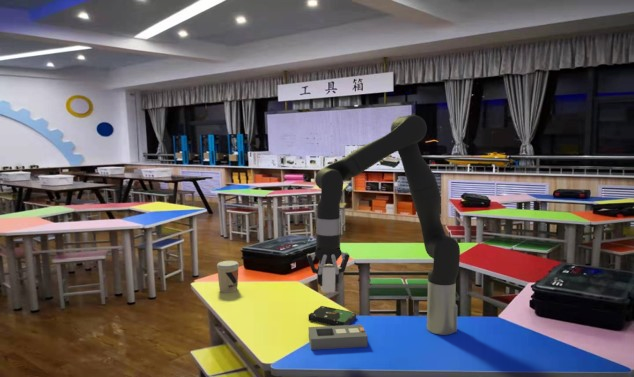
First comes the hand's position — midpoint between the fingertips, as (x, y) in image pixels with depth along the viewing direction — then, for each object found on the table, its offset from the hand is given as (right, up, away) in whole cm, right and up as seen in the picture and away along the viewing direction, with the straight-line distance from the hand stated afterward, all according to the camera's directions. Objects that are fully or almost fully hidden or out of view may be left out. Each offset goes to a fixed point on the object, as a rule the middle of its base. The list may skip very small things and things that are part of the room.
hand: (327, 284), depth 140 cm
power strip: (+3, -19, +4) cm, 20 cm away
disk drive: (+2, -18, +22) cm, 29 cm away
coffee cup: (-43, -14, +55) cm, 71 cm away
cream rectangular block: (0, -2, 0) cm, 2 cm away
